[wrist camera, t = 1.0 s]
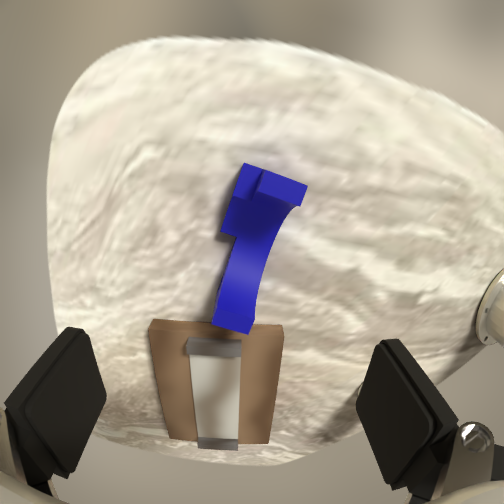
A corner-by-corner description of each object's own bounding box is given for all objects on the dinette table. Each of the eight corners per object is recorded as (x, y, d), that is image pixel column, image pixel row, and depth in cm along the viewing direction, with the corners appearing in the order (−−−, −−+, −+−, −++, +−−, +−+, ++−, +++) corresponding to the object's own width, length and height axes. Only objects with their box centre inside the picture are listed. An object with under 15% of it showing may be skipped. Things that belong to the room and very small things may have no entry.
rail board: (281, 325, 29) (286, 344, 25) (267, 433, 34) (269, 452, 31) (153, 318, 28) (143, 337, 25) (172, 427, 33) (167, 446, 30)
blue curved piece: (243, 162, 24) (243, 162, 18) (293, 180, 25) (307, 185, 19) (202, 286, 27) (192, 318, 22) (247, 300, 28) (248, 334, 22)
